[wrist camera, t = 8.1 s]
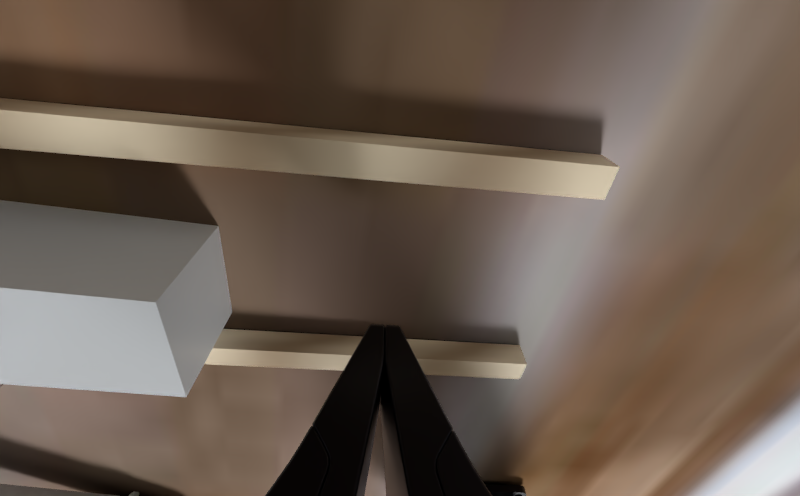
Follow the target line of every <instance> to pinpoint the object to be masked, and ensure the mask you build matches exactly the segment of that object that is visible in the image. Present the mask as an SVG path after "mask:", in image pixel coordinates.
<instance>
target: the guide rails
mask: <svg viewBox="0 0 800 496" xmlns="http://www.w3.org/2000/svg"><path fill="white" fill-rule="evenodd" d="M0 148H4V149H15V150H27V151H39V152H50V153H62V154H74V155H86V156H97V157H109V158H121V159H132V160H144V161H156V162H167V163H179V164H191V165H202V166H214V167H226V168H237V169H249V170H261V171H273V172H284V173H296V174H308V175H319V176H331V177H343V178H354V179H366V180H378V181H389V182H401V183H413V184H424V185H436V186H448V187H460V188H471V189H483V190H495V191H506V192H518V193H530V194H541V195H553V196H565V197H576V198H588V199H600V200H605V198H606V195H607V193H608V191H609V189H610V187H611V185H612V183H613V181H614V178H615V176H616V174H617V172H618V170H619V168H620V167H619V166H617V165H616V164H615V163H613V162H612V161H610V160H609V159H607V158H606V157H604V156H603V155H598V154H587V153H577V152H566V151H556V150H545V149H534V148H524V147H513V146H503V145H492V144H482V143H471V142H460V141H450V140H439V139H429V138H418V137H408V136H397V135H387V134H376V133H365V132H355V131H344V130H334V129H323V128H313V127H302V126H291V125H281V124H270V123H260V122H249V121H239V120H228V119H218V118H207V117H196V116H186V115H175V114H165V113H154V112H144V111H133V110H122V109H112V108H101V107H91V106H80V105H70V104H59V103H49V102H38V101H27V100H17V99H6V98H0ZM362 338H363V336H345V335H327V334H309V333H291V332H272V331H254V330H236V329H223V330H222V332H221V334H220V336H219V337H218V339H217V341H216V343H215V345H214V347H213V349H212V350H211V352H210V354H209V356H208V358H207V360H206V362H205V363H204V364H213V365H234V366H255V367H275V368H296V369H317V370H338V371H343V370H344V369H345V367H346V365H347V363H348V362H349V360H350V358H351V356H352V355H353V353H354V351H355V350H356V348H357V346H358V344H359V343H360V341H361V339H362ZM407 341H408V343H409V345H410V347H411V349H412V351H413V353H414V355H415V356H416V358H417V360H418V362H419V364H420V366H421V368H422V370H423V372H424V374H425V375H441V376H462V377H483V378H504V379H520V378H521V376H522V374H523V372H524V369H525V367H526V365H527V363H526V361H525V358H524V355H523V353H522V350H521V347H520V345H509V344H490V343H472V342H454V341H436V340H418V339H407Z"/></svg>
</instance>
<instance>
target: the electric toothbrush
mask: <svg viewBox="0 0 800 496" xmlns="http://www.w3.org/2000/svg"><path fill="white" fill-rule="evenodd" d="M0 496H118V495H108V494H97V493H87V492H77V491H67V490H57V489H47V488H37V487H27V486H17V485H7V484H0ZM129 496H139V492H135V491H133V492H132V493H131V494H130V495H129Z"/></svg>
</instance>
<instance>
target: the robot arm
mask: <svg viewBox="0 0 800 496" xmlns="http://www.w3.org/2000/svg"><path fill="white" fill-rule="evenodd" d="M379 404H380V411H381V426H382V440H383V454H384V468H385V482H386V496H526V492H525V489H524V487H523V486H520V485H486V484H484V482H483V481H482V479H481V478H480V476H479V475H478V473H477V471H476V470H475V468H474V467H473V465H472V463H471V461H470V459H469V458H468V456H467V454H466V452H465V450H464V449H463V447H462V445H461V443H460V441H459V439H458V437H457V435H456V433H455V432H454V431H453V428H452V426H451V424H450V422H449V420H448V418H447V416H446V414H445V412H444V411H443V409H442V407H441V405H440V403H439V401H438V399H437V397H436V395H435V393H434V391H433V389H432V387H431V385H430V384H429V382H428V380H427V378H426V376H425V374H424V372H423V370H422V368H421V366H420V364H419V362H418V360H417V358H416V356H415V355H414V353H413V351H412V349H411V347H410V345H409V343H408V341H407V339H406V337H405V335H404V333H403V331H402V329H401V328H400V327H399V326H395V325H386V326H385V327H384V325H377V324H371V325H370V326H369V327H368V329H367V331H366V332H365V334H364V336H363V338H362V339H361V341H360V343H359V344H358V346H357V348H356V350H355V351H354V353H353V355H352V356H351V358H350V360H349V362H348V363H347V365H346V367H345V369H344V370H343V372H342V374H341V375H340V377H339V379H338V381H337V382H336V384H335V386H334V388H333V389H332V391H331V393H330V394H329V396H328V398H327V400H326V401H325V403H324V405H323V407H322V408H321V410H320V412H319V413H318V415H317V417H316V419H315V420H314V422H313V426H311V427H310V429H309V430H308V432H307V434H306V436H305V437H304V439H303V441H302V442H301V444H300V446H299V447H298V449H297V450H296V452H295V454H294V455H293V457H292V458H291V460H290V462H289V463H288V464H287V466H286V467H285V469H284V470H283V472H282V473H281V474H280V476H279V477H278V479H277V480H276V482H275V483H274V484H273V486H272V487H271V488H270V490H269V491H268V492H267V494H266V495H265V496H364V494H365V488H366V482H367V476H368V471H369V465H370V459H371V453H372V447H373V441H374V435H375V429H376V423H377V418H378V411H379Z"/></svg>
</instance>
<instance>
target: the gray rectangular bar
mask: <svg viewBox="0 0 800 496" xmlns="http://www.w3.org/2000/svg"><path fill="white" fill-rule="evenodd" d="M231 313H232V307H231V301H230V295H229V288H228V282H227V276H226V270H225V263H224V257H223V251H222V245H221V238H220V232H219V226H215V225H207V224H198V223H190V222H181V221H173V220H164V219H156V218H148V217H139V216H131V215H122V214H114V213H105V212H97V211H88V210H80V209H72V208H63V207H55V206H46V205H38V204H29V203H21V202H13V201H4V200H0V384H9V385H23V386H37V387H51V388H65V389H79V390H93V391H107V392H121V393H136V394H150V395H164V396H178V397H187V395H188V393H189V391H190V389H191V388H192V386H193V384H194V382H195V380H196V378H197V376H198V375H199V373H200V371H201V369H202V367H203V365H204V363H205V362H206V360H207V358H208V356H209V354H210V352H211V350H212V349H213V347H214V345H215V343H216V341H217V339H218V337H219V336H220V334H221V332H222V330H223V328H224V326H225V324H226V323H227V321H228V319H229V317H230V315H231Z"/></svg>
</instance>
